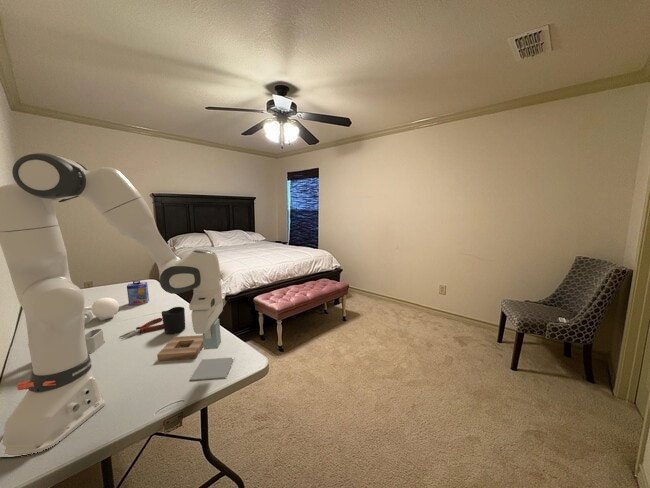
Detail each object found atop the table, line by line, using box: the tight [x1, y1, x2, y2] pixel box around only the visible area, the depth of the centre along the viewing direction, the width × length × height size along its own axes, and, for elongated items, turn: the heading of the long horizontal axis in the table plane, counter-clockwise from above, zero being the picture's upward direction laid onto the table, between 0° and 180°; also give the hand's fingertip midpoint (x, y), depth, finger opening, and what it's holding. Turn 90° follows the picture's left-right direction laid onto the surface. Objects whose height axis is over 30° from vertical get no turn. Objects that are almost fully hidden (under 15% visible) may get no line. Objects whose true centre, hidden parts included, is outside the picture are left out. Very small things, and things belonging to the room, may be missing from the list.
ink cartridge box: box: [126, 280, 150, 306], centre depth 164 cm, size 10×6×14 cm, turn 115°
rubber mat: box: [189, 357, 234, 382], centre depth 95 cm, size 12×12×1 cm
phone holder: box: [84, 310, 106, 355], centre depth 109 cm, size 17×10×18 cm, turn 103°
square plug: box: [202, 318, 222, 350], centre depth 94 cm, size 4×4×9 cm
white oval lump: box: [84, 297, 120, 321], centre depth 142 cm, size 12×12×15 cm
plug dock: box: [156, 334, 204, 362], centre depth 108 cm, size 14×14×2 cm
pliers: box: [118, 317, 164, 340], centre depth 127 cm, size 12×20×3 cm, turn 148°
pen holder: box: [161, 306, 186, 335], centre depth 126 cm, size 9×9×10 cm
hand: (211, 333), depth 94 cm, fingers closed on square plug, 4 cm apart
